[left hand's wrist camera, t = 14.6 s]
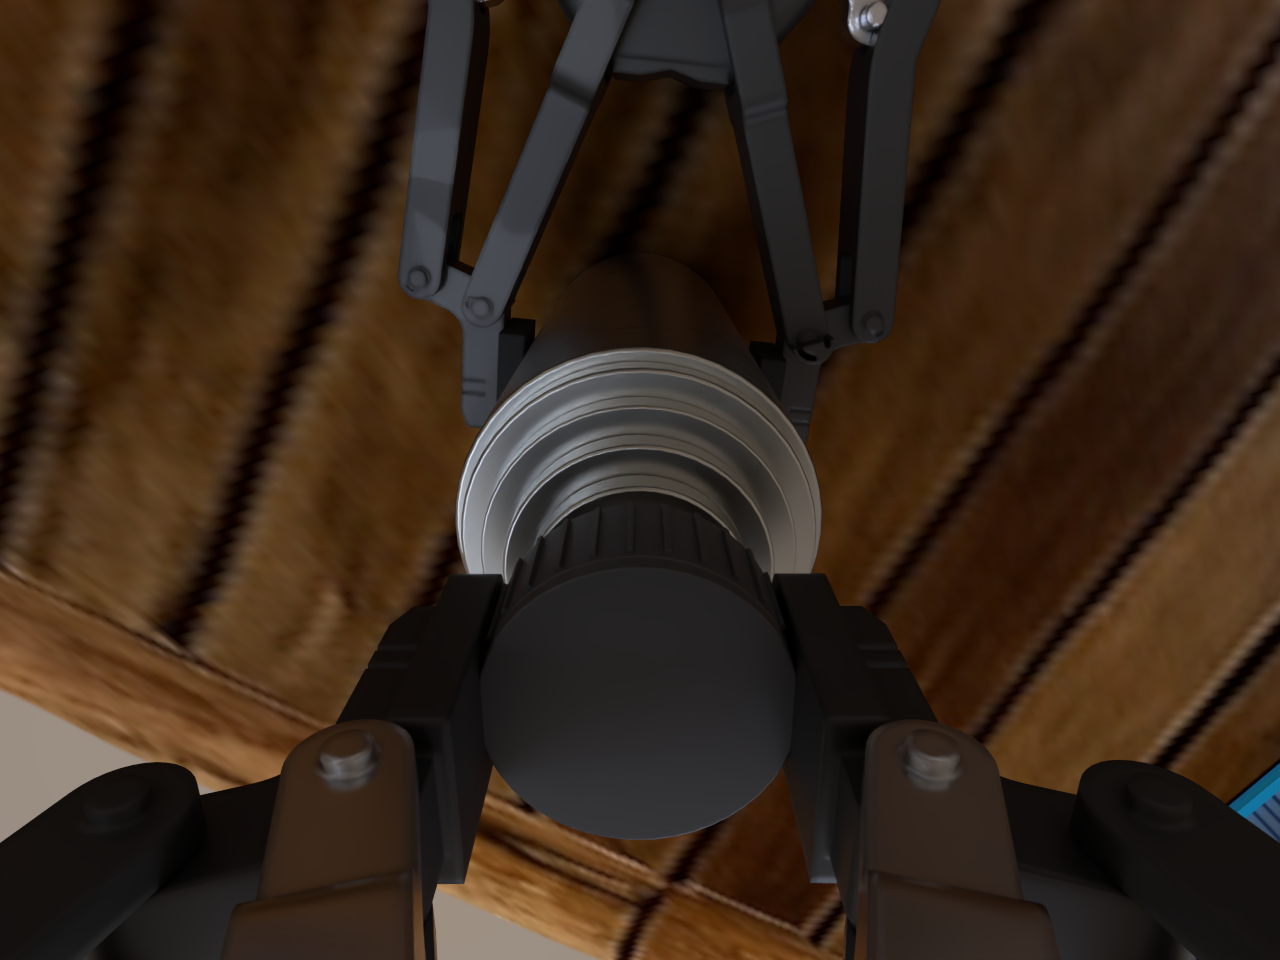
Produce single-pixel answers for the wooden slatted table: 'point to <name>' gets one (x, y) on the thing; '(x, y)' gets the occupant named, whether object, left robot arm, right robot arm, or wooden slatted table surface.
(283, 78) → the wooden slatted table surface
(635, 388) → the bottle
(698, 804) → the cap
